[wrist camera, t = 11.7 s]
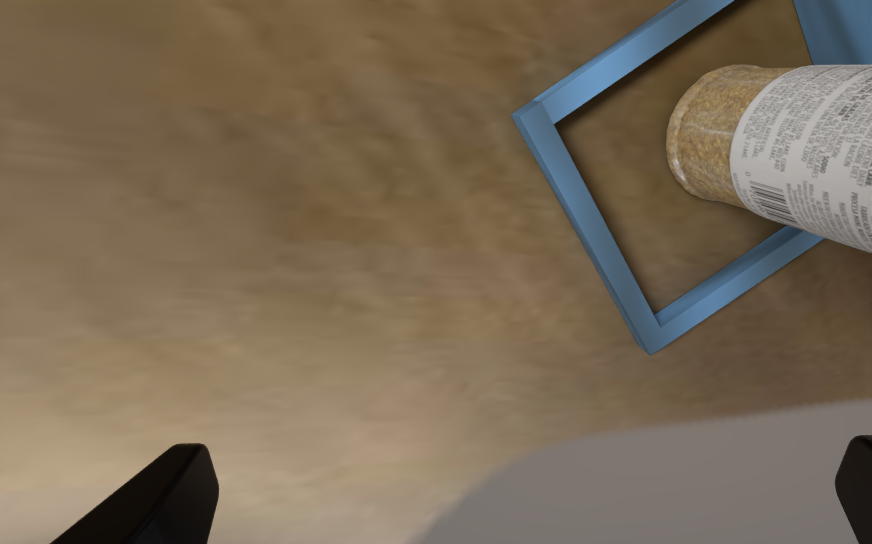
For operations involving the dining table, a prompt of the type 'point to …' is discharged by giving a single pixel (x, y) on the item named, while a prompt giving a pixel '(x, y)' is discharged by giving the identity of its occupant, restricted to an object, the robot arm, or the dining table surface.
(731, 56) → the dining table surface
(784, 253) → the bay rail
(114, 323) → the dining table surface
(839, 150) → the sprinkles bottle
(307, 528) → the dining table surface
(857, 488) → the robot arm
